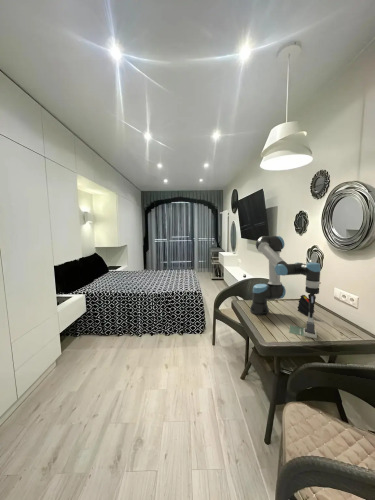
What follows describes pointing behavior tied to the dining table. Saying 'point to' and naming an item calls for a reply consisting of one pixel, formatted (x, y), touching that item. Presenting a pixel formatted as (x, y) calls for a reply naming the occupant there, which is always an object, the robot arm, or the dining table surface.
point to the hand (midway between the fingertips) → (310, 321)
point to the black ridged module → (303, 305)
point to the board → (302, 332)
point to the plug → (310, 327)
